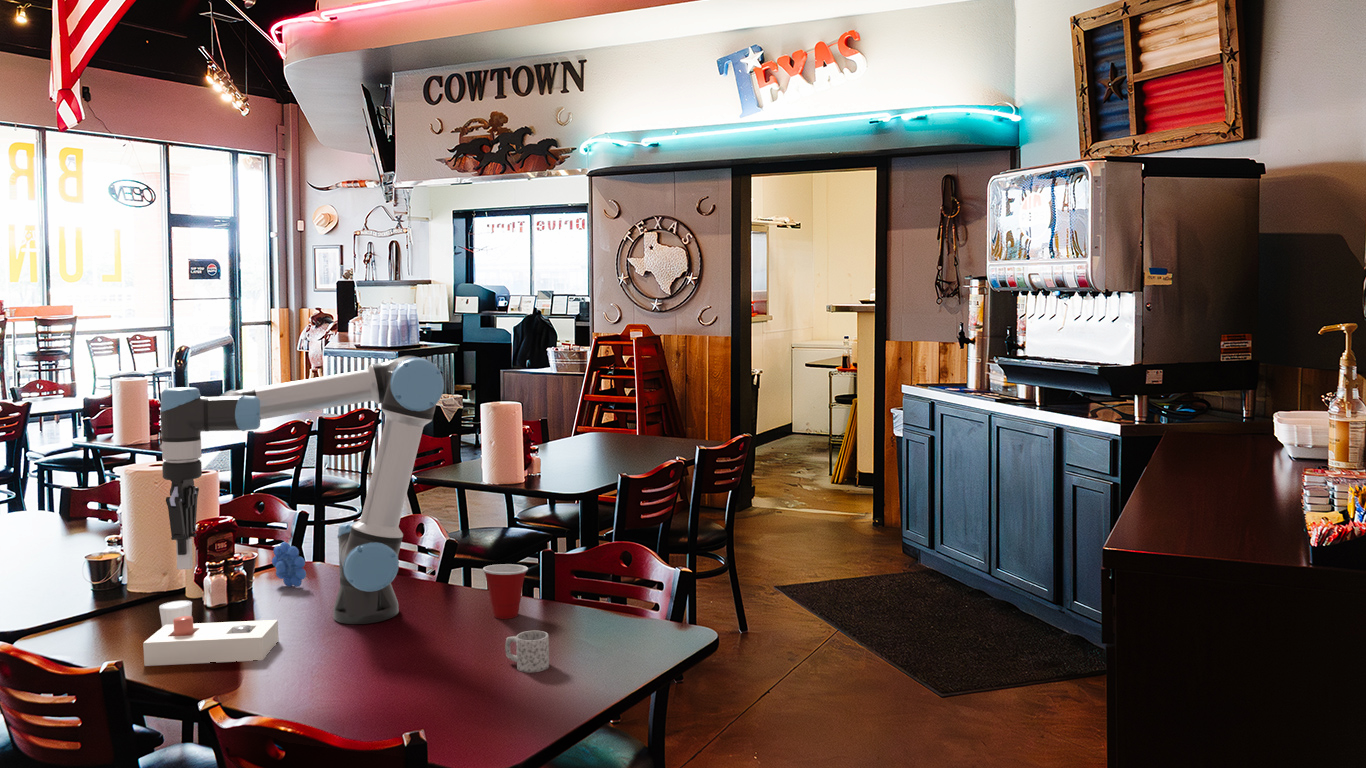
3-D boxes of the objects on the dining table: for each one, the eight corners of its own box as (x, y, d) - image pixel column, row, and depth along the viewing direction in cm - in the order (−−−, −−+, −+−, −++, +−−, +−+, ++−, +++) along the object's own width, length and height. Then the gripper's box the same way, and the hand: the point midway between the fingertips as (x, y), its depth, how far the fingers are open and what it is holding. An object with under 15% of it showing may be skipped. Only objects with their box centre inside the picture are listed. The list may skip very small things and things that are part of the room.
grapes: (261, 588, 271) (259, 543, 270) (281, 581, 277) (279, 538, 276) (292, 593, 266) (290, 548, 265) (312, 586, 272) (310, 542, 271)
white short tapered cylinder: (180, 639, 230) (178, 609, 229) (153, 637, 231) (152, 607, 231) (200, 629, 237) (198, 600, 236) (174, 628, 238) (172, 599, 237)
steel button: (254, 646, 223) (253, 624, 223) (248, 652, 219) (247, 629, 219) (236, 647, 223) (235, 625, 222) (230, 653, 219) (229, 630, 219)
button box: (278, 641, 228) (277, 619, 227) (263, 660, 216) (261, 637, 215) (166, 646, 225) (165, 624, 225) (144, 665, 213) (143, 642, 213)
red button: (196, 637, 222) (195, 615, 221) (190, 643, 218) (189, 621, 217) (178, 638, 221) (177, 616, 221) (171, 644, 217) (170, 621, 217)
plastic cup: (538, 612, 248) (537, 563, 247) (511, 624, 238) (509, 574, 237) (502, 606, 253) (501, 559, 252) (474, 618, 243) (473, 569, 242)
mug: (555, 663, 212) (554, 632, 212) (538, 674, 206) (537, 642, 206) (514, 657, 217) (514, 627, 216) (497, 667, 210) (496, 636, 210)
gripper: (174, 455, 222) (177, 561, 224) (151, 464, 209) (154, 576, 211) (210, 455, 223) (213, 560, 225) (189, 464, 210) (192, 576, 212)
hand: (184, 568), depth 218 cm, fingers closed
